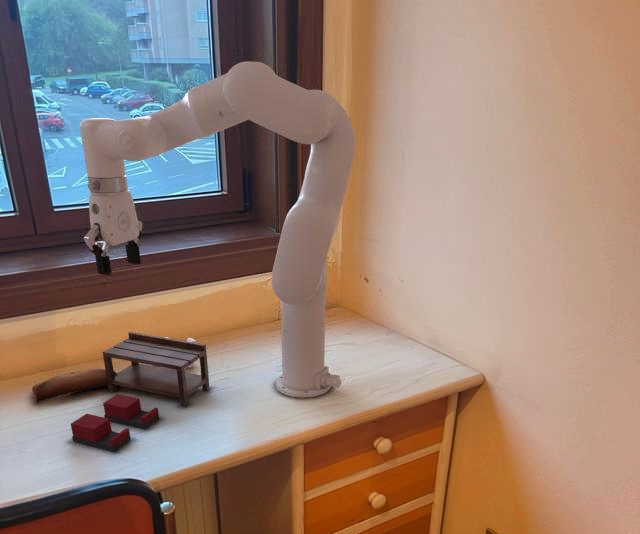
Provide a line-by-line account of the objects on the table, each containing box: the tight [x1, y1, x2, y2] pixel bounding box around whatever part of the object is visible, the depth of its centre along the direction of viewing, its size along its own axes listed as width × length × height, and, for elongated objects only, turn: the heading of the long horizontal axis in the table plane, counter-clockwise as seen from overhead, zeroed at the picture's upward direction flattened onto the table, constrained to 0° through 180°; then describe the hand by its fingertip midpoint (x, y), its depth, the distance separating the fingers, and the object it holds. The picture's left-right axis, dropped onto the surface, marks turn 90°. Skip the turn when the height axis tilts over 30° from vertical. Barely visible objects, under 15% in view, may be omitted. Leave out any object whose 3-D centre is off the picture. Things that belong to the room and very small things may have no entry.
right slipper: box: [102, 393, 160, 430], centre depth 131 cm, size 10×5×4 cm, turn 68°
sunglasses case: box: [31, 368, 118, 404], centre depth 143 cm, size 18×7×7 cm
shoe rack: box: [102, 331, 211, 408], centre depth 141 cm, size 20×10×11 cm, turn 68°
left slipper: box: [70, 413, 132, 453], centre depth 123 cm, size 10×5×4 cm, turn 68°
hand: (120, 268), depth 139 cm, fingers open, 9 cm apart
